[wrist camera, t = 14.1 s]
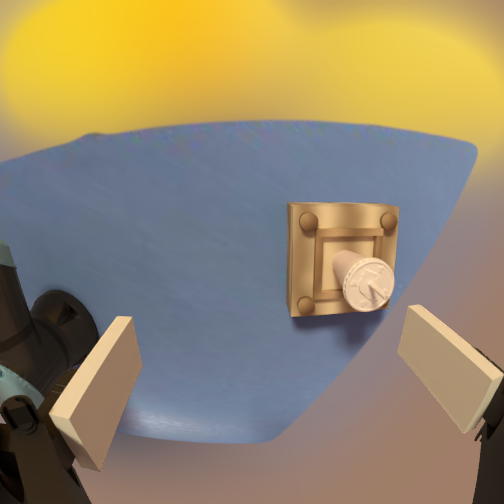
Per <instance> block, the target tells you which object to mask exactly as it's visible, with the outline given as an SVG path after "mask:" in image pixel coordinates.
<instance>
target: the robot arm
mask: <svg viewBox="0 0 504 504" xmlns="http://www.w3.org/2000/svg"><path fill="white" fill-rule="evenodd" d="M16 269H17V267H16V265H15V264H14V262H13V258H12V255H11V251H10V248H9V246H8V244H7V243H6V242H5V241H3V240H0V405H1V407H0V414H1V416H2V417H3V419H4V420H5V422H6V424H2V423H0V504H92V503H91V502H90V500H89V498H88V496H87V494H86V492H85V490H84V488H83V486H82V484H81V482H80V480H79V477H78V476H77V473H76V471H75V469H74V468H73V466H72V463H73V461H74V459H75V458H76V460H77V461H78V463H79V464H80V465H81V467H84V468H88V469H91V470H95V471H99V472H101V469H102V466H103V464H104V461H105V458H106V455H107V453H108V450H109V447H110V445H111V442H112V439H113V437H114V434H115V432H116V429H117V427H118V424H119V422H120V419H121V416H122V414H123V412H124V409H125V407H126V404H127V402H128V399H129V397H130V394H131V392H132V390H133V387H134V385H135V383H136V380H137V378H138V376H139V373H140V371H141V369H142V361H141V357H140V352H139V348H138V343H137V338H136V333H135V328H134V323H133V317H125V316H117V317H116V319H115V320H114V321H113V323H112V324H111V325H110V327H109V328H108V329H107V331H106V332H105V333H104V335H103V336H102V337H101V339H100V340H99V341H98V343H97V330H96V326H95V324H94V321H93V319H92V317H91V315H90V314H89V312H88V311H87V309H86V308H85V307H84V306H83V304H82V303H81V302H80V301H79V300H77V299H76V298H75V297H73V296H72V295H70V294H68V293H66V292H64V291H60V290H50V291H48V292H46V293H44V294H43V295H41V296H40V297H39V298H38V299H37V300H36V301H35V303H34V305H33V307H32V309H31V311H29V309H28V306H27V303H26V300H25V297H24V294H23V291H22V288H21V285H20V282H19V278H18V275H17V271H16ZM398 354H399V355H400V356H401V357H402V358H403V360H404V361H405V362H406V363H407V364H408V365H409V367H410V368H411V369H412V370H413V372H414V373H415V374H416V375H417V376H418V378H419V379H420V380H421V381H422V382H423V384H424V385H425V386H426V387H427V389H428V390H429V391H430V392H431V393H432V395H433V396H434V397H435V398H436V400H437V401H438V402H439V403H440V405H441V406H442V407H443V408H444V410H445V411H446V412H447V414H448V415H449V416H450V417H451V419H452V420H453V421H454V422H455V424H456V425H457V426H458V428H459V429H460V430H461V432H462V433H463V434H464V433H466V432H468V431H470V430H472V429H474V428H476V426H477V425H478V423H479V421H480V420H481V418H482V417H483V418H484V419H485V423H484V425H483V426H482V428H481V429H480V431H479V433H478V434H477V436H476V437H475V441H477V439H478V438H479V436H480V435H482V438H481V439H480V442H481V453H480V462H479V469H478V476H477V482H476V488H475V493H474V498H473V503H472V504H504V371H503V370H502V369H501V368H500V367H498V366H497V365H496V364H495V363H494V362H493V361H490V359H489V358H488V357H487V356H485V355H484V354H483V353H482V352H481V351H480V350H479V349H477V348H475V347H473V346H471V345H469V344H468V343H467V342H466V341H465V340H463V339H462V338H461V337H460V336H459V335H457V334H456V333H455V332H454V331H452V330H451V329H450V328H449V327H447V326H446V325H445V324H444V323H442V322H441V321H440V320H439V319H437V318H436V317H435V316H434V315H432V314H431V313H430V312H429V311H427V310H426V309H425V308H423V307H422V306H421V305H413V306H408V309H407V314H406V319H405V323H404V328H403V332H402V337H401V340H400V344H399V348H398ZM82 362H83V363H82ZM80 363H82V365H81V366H80V368H79V369H78V370H77V369H70V368H72V367H74V366H76V365H78V364H80ZM68 369H70V370H69V371H67V370H68ZM66 371H67V372H66Z"/></svg>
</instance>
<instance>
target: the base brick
mask: <svg viewBox="0 0 504 504" xmlns="http://www.w3.org/2000/svg"><path fill="white" fill-rule="evenodd" d="M398 216H399V207H396V206H392V205H388V204H378V203H287V302H286V303H287V306H288V309H289V312H290V315H291V317H296V316H312V315H325V314H338V313H349V312H360V311H358V310H356V309H354V308H353V307H352V306H351V305H350V304H348V303H347V301H346V299H345V298H344V294H343V288H342V286H341V284H340V282H339V280H338V278H337V276H336V274H335V272H334V270H333V267H332V261H333V258H334V256H335V255H336V254H337V253H338V252H340V251H342V250H348V251H351V252H354V253H357V254H359V255H362V256H365V257H368V258H377V259H380V260H382V261H384V262H385V263H386V264H387V265H388V266H389V267H390V268H391V270H392V272H393V273H394V265H395V255H396V245H397V232H398ZM389 302H390V298H389V299H388V300H387V302H386V303H385V304H384V305H382V306H381V307H380V308H378V309H376V310H379V309H388V308H389Z"/></svg>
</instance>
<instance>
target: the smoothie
mask: <svg viewBox="0 0 504 504" xmlns="http://www.w3.org/2000/svg"><path fill="white" fill-rule="evenodd" d="M332 267H333V270H334V272H335V274H336V276H337V278H338V280H339V282H340V284H341V286H342V288H343V294H344V298H345V299H346V301H347V303H348V304H350V305H351V306H352V307H353V308H354V309H356V310H358V311H361V312H370V311H374V310H376V309H378V308H380V307H381V306H382V305H384V304H385V303H386V302H387V300H388V299H389V298H390V296H391V294H392V292H393V288H394V274H393V272H392V270H391V268H390V267H389V266H388V265H387V264H386V263H385V262H384V261H382V260H380V259H377V258H368V257H365V256H362V255H359V254H357V253H354V252H351V251H348V250H342V251H340V252H338V253H337V254H336V255H335V256H334V258H333V261H332Z"/></svg>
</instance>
